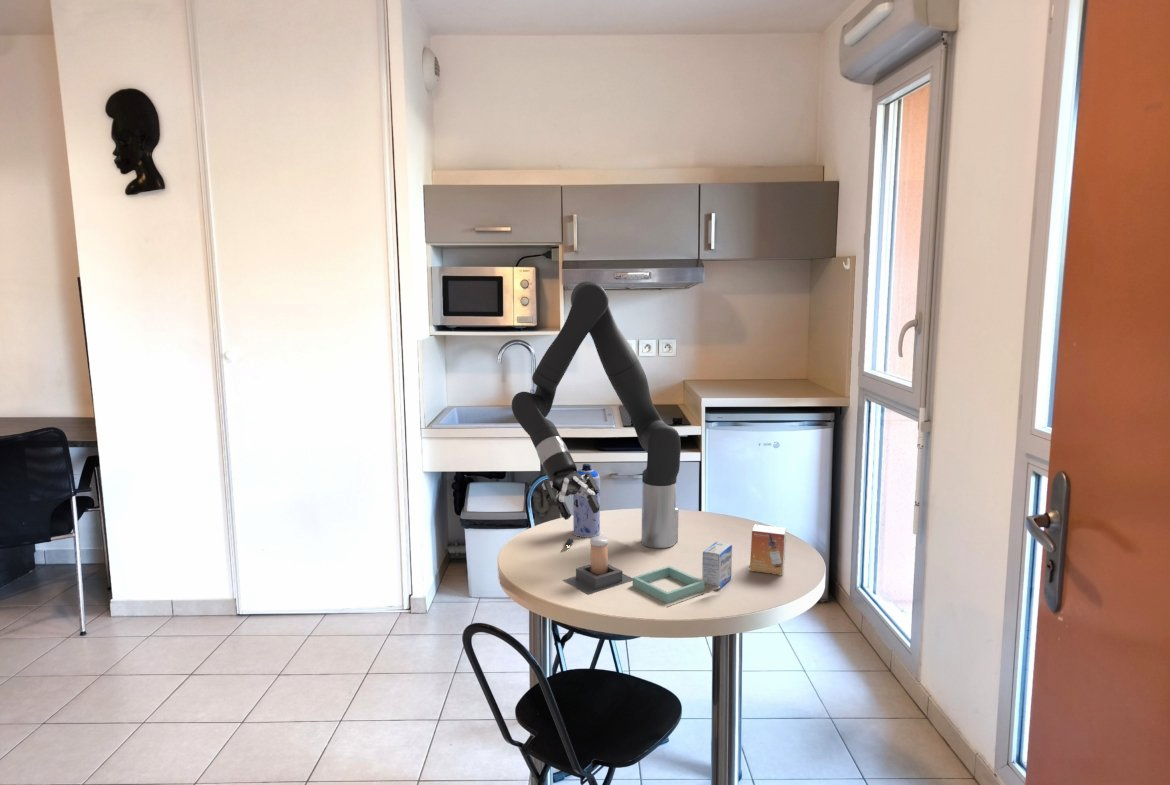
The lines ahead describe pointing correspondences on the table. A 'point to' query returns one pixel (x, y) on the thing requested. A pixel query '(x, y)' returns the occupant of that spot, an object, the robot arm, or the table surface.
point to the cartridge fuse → (599, 555)
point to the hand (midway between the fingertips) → (582, 514)
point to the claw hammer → (568, 542)
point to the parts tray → (692, 588)
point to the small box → (768, 549)
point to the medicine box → (717, 564)
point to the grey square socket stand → (597, 579)
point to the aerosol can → (586, 509)
